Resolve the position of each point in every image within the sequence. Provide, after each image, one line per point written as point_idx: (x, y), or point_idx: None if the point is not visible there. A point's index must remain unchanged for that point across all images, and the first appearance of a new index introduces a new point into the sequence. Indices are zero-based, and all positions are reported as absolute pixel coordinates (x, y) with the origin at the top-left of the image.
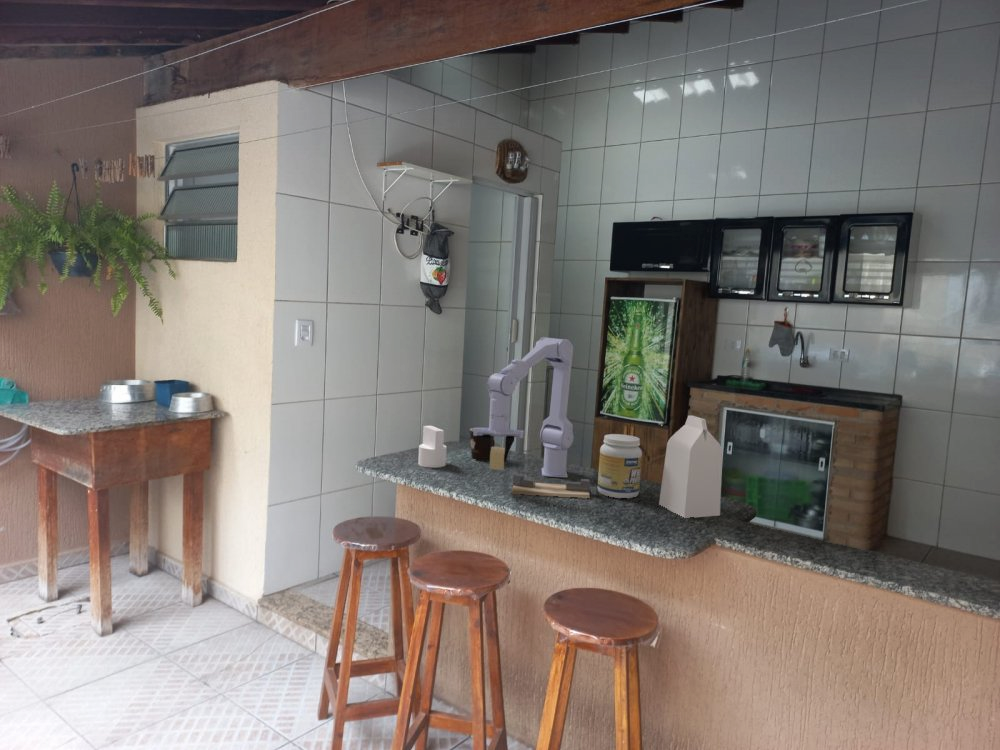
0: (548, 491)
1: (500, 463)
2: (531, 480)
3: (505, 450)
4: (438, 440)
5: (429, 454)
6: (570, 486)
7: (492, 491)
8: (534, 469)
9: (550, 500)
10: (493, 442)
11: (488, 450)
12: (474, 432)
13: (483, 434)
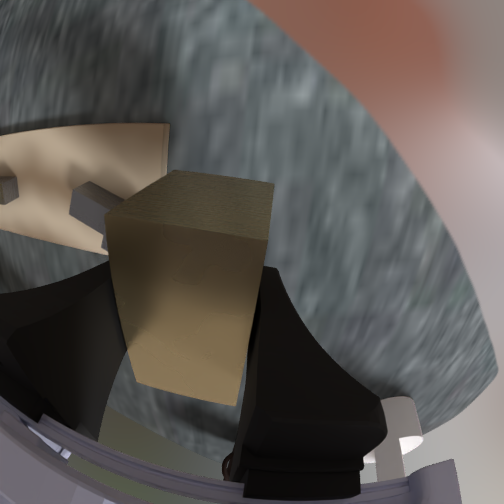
0: (48, 144)
1: (180, 184)
2: (79, 200)
3: (99, 283)
4: (394, 461)
5: (408, 424)
6: (2, 180)
7: (257, 156)
8: (129, 381)
9: (56, 81)
10: (224, 468)
11: (279, 314)
12: (452, 490)
13: (340, 498)
